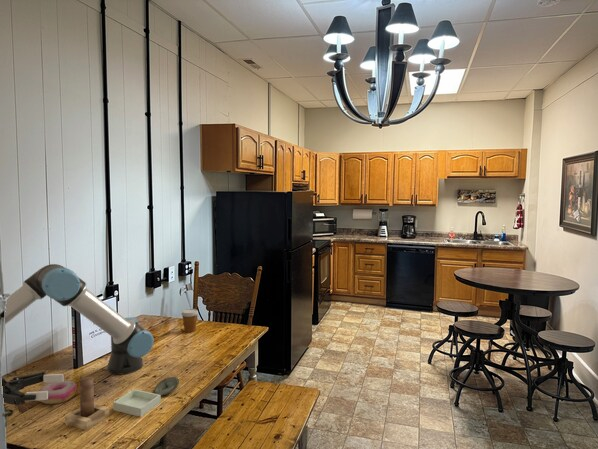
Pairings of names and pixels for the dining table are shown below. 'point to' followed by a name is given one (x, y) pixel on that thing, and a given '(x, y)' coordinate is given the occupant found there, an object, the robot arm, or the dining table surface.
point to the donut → (59, 391)
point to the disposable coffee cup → (189, 320)
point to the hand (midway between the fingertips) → (55, 386)
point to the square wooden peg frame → (86, 423)
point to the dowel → (86, 397)
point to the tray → (137, 402)
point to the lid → (166, 386)
